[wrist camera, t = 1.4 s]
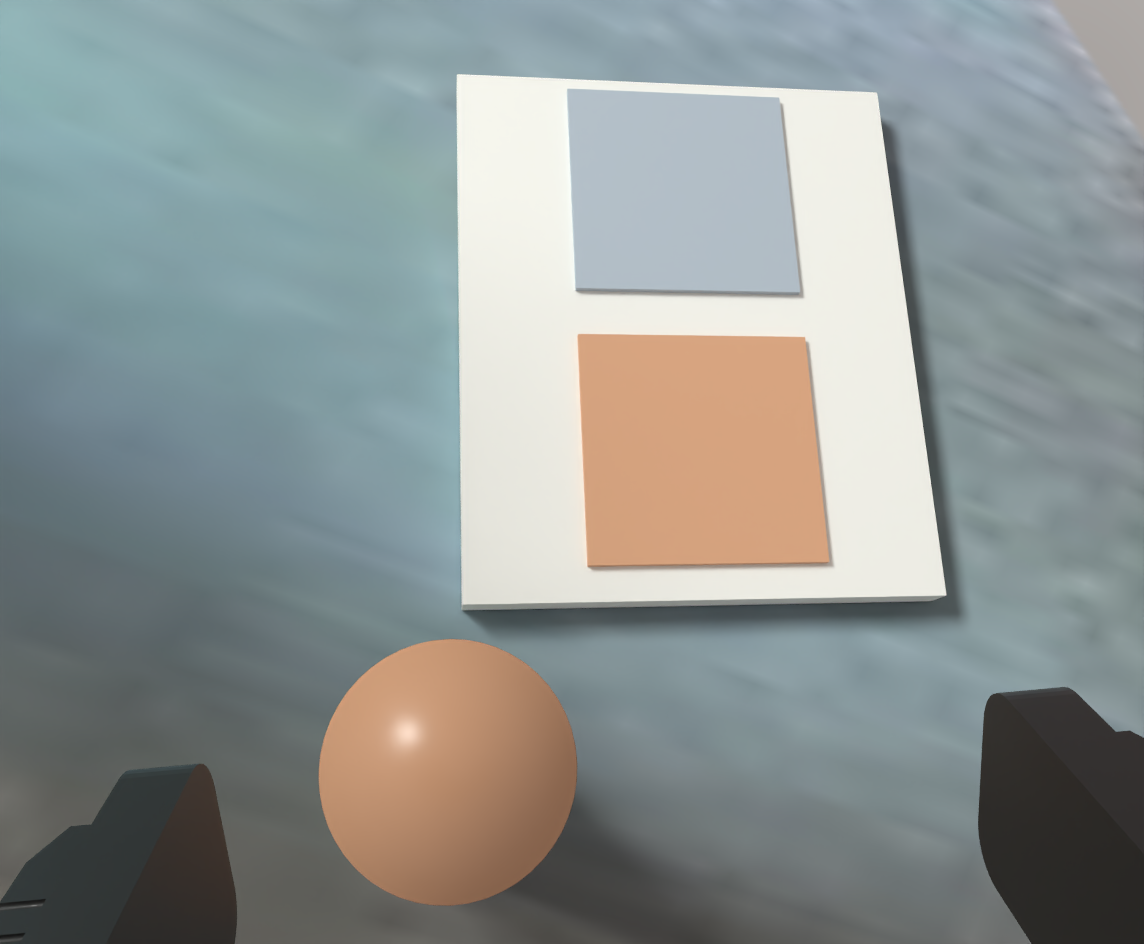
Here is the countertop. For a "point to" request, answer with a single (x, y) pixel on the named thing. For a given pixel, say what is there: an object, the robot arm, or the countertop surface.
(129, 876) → the robot arm
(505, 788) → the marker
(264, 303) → the countertop surface
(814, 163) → the picture board
